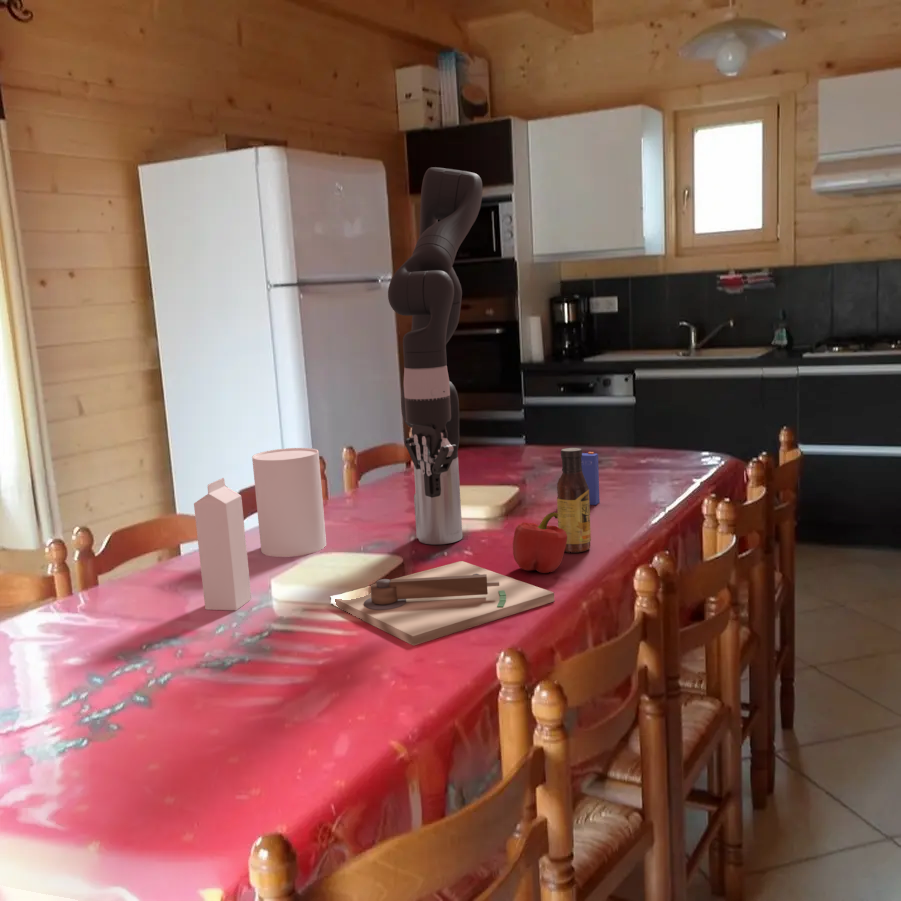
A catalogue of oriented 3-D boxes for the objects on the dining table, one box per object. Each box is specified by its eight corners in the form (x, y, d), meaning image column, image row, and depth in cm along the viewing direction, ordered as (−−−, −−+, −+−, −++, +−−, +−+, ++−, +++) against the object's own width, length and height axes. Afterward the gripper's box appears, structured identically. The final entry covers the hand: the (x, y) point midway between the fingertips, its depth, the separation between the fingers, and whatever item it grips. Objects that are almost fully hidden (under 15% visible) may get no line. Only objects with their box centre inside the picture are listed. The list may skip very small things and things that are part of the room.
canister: (339, 544, 204) (331, 450, 201) (288, 560, 195) (279, 462, 191) (299, 535, 213) (291, 446, 210) (248, 550, 204) (238, 456, 200)
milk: (205, 610, 168) (190, 485, 164) (221, 598, 173) (207, 477, 170) (237, 610, 166) (223, 484, 162) (252, 598, 172) (239, 477, 168)
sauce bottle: (590, 554, 187) (586, 452, 183) (557, 554, 188) (553, 453, 184) (592, 544, 193) (588, 446, 189) (560, 544, 194) (556, 446, 191)
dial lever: (372, 596, 163) (371, 578, 163) (499, 589, 163) (498, 570, 162) (370, 605, 159) (369, 586, 158) (500, 597, 159) (499, 579, 158)
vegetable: (539, 557, 186) (536, 506, 185) (582, 566, 179) (580, 514, 177) (500, 571, 179) (497, 519, 177) (543, 582, 172) (541, 527, 170)
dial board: (330, 604, 167) (329, 594, 166) (462, 568, 182) (461, 559, 182) (413, 645, 146) (412, 634, 145) (554, 601, 161) (554, 591, 161)
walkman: (599, 502, 227) (598, 452, 225) (595, 505, 225) (594, 454, 222) (567, 500, 231) (565, 451, 228) (563, 503, 228) (561, 453, 226)
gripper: (469, 394, 157) (474, 498, 160) (424, 388, 168) (429, 486, 171) (430, 400, 153) (436, 507, 156) (386, 393, 164) (393, 493, 167)
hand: (433, 496), depth 164 cm, fingers closed
